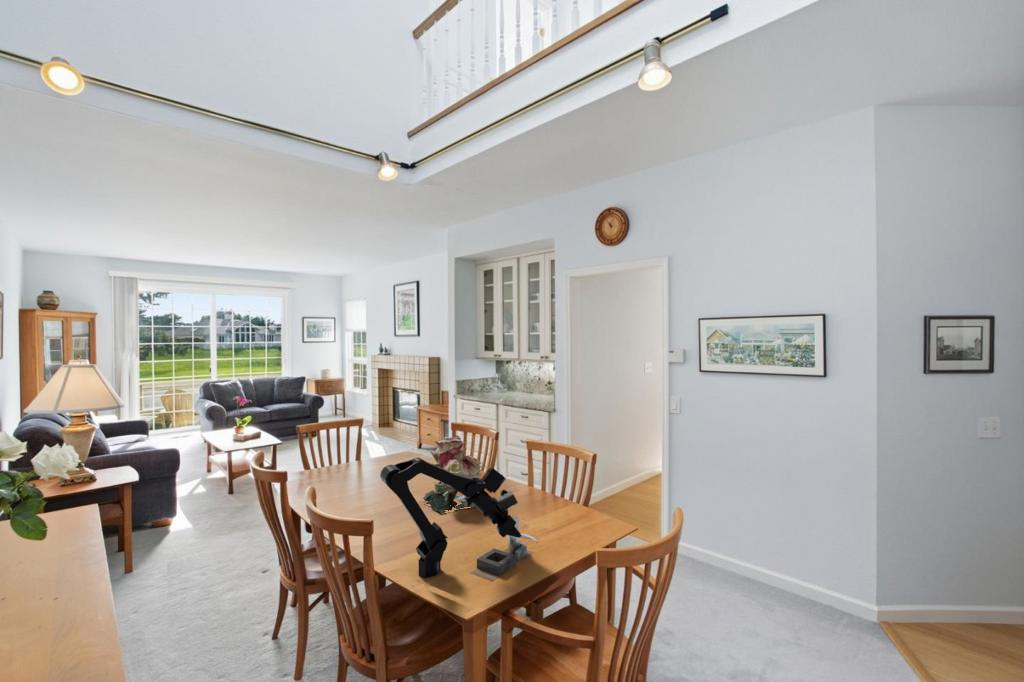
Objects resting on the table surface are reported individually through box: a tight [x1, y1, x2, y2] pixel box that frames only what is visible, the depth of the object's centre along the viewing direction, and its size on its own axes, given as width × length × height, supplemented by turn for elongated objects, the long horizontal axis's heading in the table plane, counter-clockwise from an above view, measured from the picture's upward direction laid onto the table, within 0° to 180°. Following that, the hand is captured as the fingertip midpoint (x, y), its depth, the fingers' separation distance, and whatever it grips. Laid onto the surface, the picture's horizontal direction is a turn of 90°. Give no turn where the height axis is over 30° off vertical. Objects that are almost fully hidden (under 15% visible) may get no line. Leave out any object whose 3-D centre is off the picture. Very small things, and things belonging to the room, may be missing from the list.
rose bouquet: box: [422, 434, 483, 515], centre depth 214 cm, size 26×29×30 cm
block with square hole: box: [469, 541, 535, 582], centre depth 153 cm, size 23×9×4 cm, turn 145°
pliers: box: [519, 530, 538, 543], centre depth 176 cm, size 10×2×15 cm
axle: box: [507, 516, 521, 555], centre depth 158 cm, size 4×4×12 cm
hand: (518, 533), depth 159 cm, fingers open, 5 cm apart
